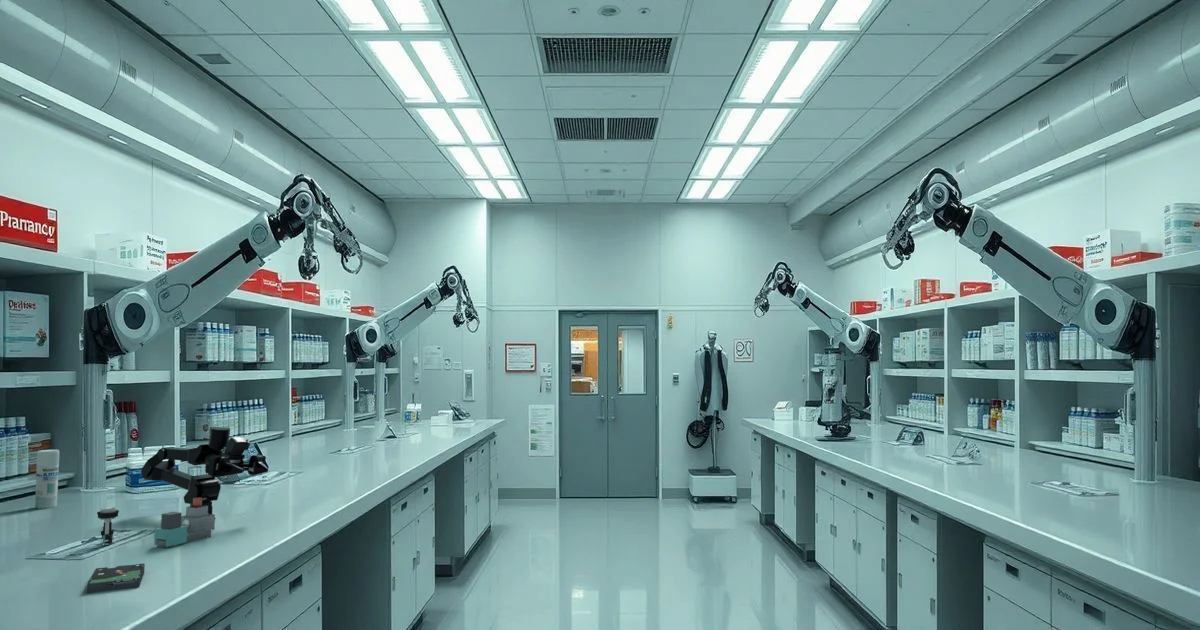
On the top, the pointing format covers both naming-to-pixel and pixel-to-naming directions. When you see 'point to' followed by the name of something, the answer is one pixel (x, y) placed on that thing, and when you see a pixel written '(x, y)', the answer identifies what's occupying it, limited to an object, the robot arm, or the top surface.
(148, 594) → the top surface
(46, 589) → the top surface
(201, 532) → the rail
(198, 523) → the grey piece
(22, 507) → the top surface
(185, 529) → the carriage
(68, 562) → the top surface
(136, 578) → the disk drive
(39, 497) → the spray paint can
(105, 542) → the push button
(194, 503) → the plunger
